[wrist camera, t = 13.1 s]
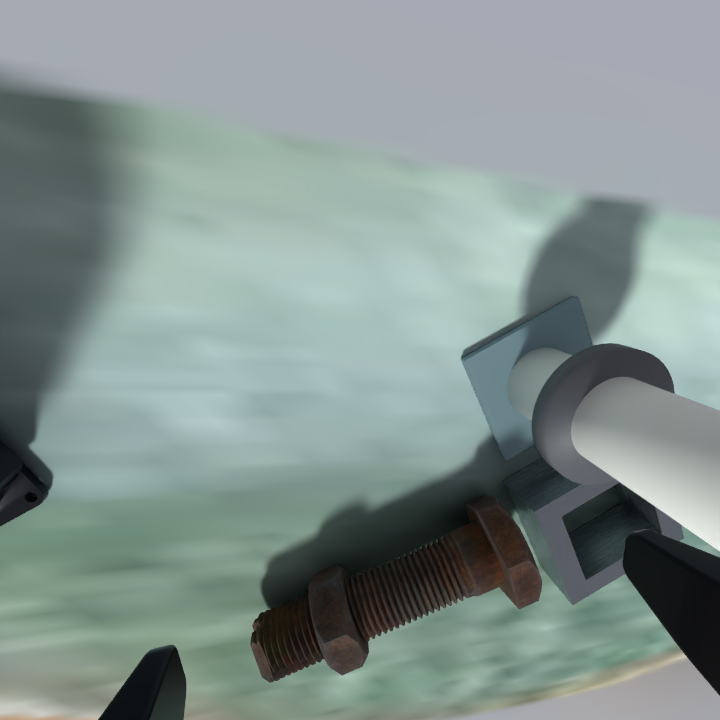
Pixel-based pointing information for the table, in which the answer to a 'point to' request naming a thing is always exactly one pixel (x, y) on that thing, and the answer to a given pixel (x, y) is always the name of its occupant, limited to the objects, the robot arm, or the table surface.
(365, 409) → the table surface
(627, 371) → the pin
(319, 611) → the bolt
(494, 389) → the mat
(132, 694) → the robot arm
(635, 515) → the block
